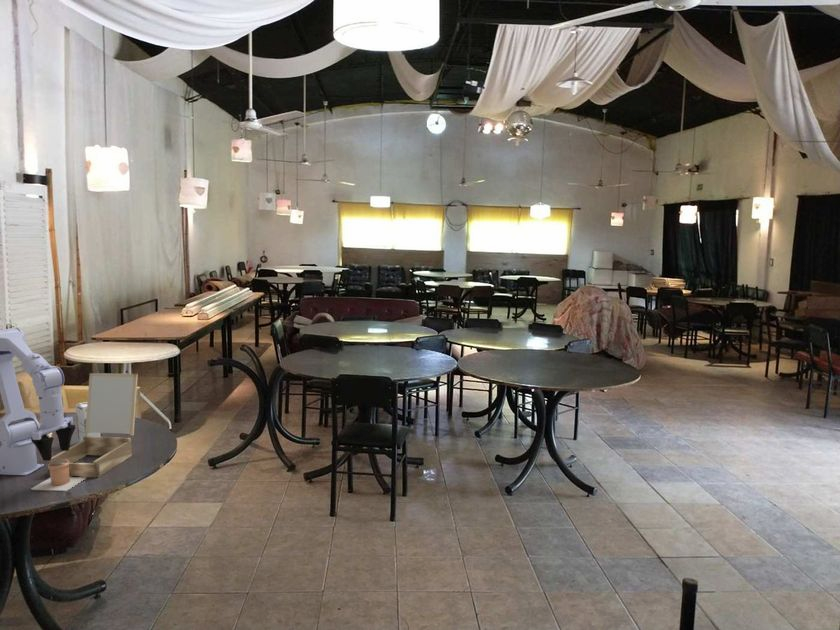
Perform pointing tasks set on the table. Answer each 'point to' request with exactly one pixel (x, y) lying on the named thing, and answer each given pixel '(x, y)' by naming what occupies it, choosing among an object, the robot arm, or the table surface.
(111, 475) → the table surface
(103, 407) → the lid
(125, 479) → the table surface
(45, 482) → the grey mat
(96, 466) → the cold frame
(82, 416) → the syrup box
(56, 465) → the terracotta flower pot
